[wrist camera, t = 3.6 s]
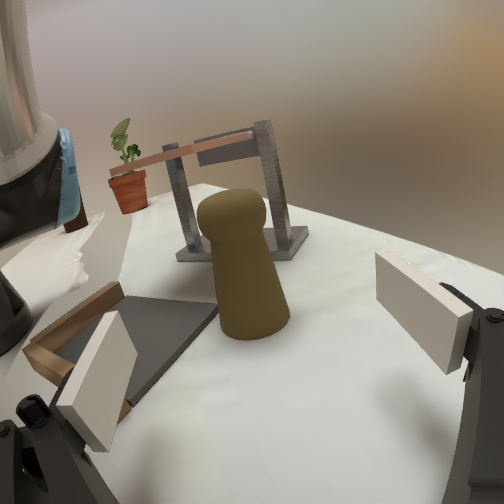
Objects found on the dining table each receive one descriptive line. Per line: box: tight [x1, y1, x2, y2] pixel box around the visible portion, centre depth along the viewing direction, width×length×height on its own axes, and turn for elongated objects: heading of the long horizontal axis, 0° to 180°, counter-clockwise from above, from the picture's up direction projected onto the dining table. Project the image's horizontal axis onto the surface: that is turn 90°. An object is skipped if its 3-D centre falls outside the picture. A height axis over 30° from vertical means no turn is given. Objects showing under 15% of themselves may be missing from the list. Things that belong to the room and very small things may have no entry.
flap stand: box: [162, 120, 309, 261], centre depth 41 cm, size 9×17×16 cm, turn 66°
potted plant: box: [108, 118, 148, 214], centre depth 100 cm, size 16×15×35 cm
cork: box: [197, 189, 290, 340], centre depth 24 cm, size 6×6×11 cm
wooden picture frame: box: [22, 282, 131, 423], centre depth 25 cm, size 15×14×2 cm
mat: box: [53, 295, 219, 406], centre depth 26 cm, size 13×13×1 cm
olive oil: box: [63, 188, 88, 233], centre depth 96 cm, size 11×11×25 cm
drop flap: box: [110, 127, 260, 177], centre depth 35 cm, size 19×12×4 cm, turn 156°
